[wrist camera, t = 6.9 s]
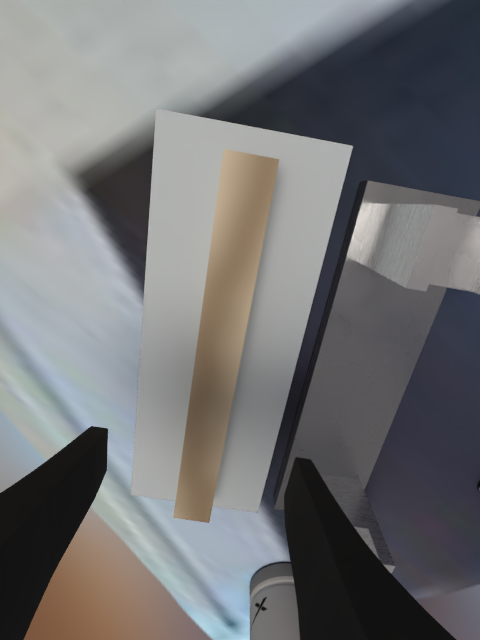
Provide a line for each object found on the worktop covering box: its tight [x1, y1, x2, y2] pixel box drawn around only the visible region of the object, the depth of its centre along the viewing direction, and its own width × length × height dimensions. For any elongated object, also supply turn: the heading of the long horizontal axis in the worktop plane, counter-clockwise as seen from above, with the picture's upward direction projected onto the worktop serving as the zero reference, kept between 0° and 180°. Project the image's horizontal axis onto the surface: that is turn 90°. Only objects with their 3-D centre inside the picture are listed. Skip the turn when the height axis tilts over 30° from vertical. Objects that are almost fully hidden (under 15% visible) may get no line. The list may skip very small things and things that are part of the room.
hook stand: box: [273, 181, 480, 574], centre depth 18 cm, size 6×23×7 cm, turn 170°
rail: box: [173, 149, 279, 523], centre depth 19 cm, size 2×23×2 cm, turn 170°
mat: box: [131, 109, 353, 513], centre depth 21 cm, size 10×26×1 cm, turn 170°
